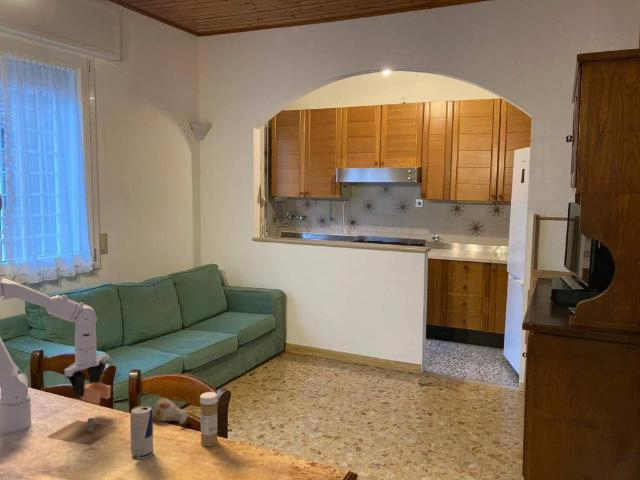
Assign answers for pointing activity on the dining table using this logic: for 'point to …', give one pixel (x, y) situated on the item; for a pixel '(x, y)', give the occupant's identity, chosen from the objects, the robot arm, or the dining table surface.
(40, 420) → the dining table surface
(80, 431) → the stand
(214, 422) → the sprinkles bottle
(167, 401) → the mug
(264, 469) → the dining table surface
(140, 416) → the energy drink
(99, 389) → the c link
